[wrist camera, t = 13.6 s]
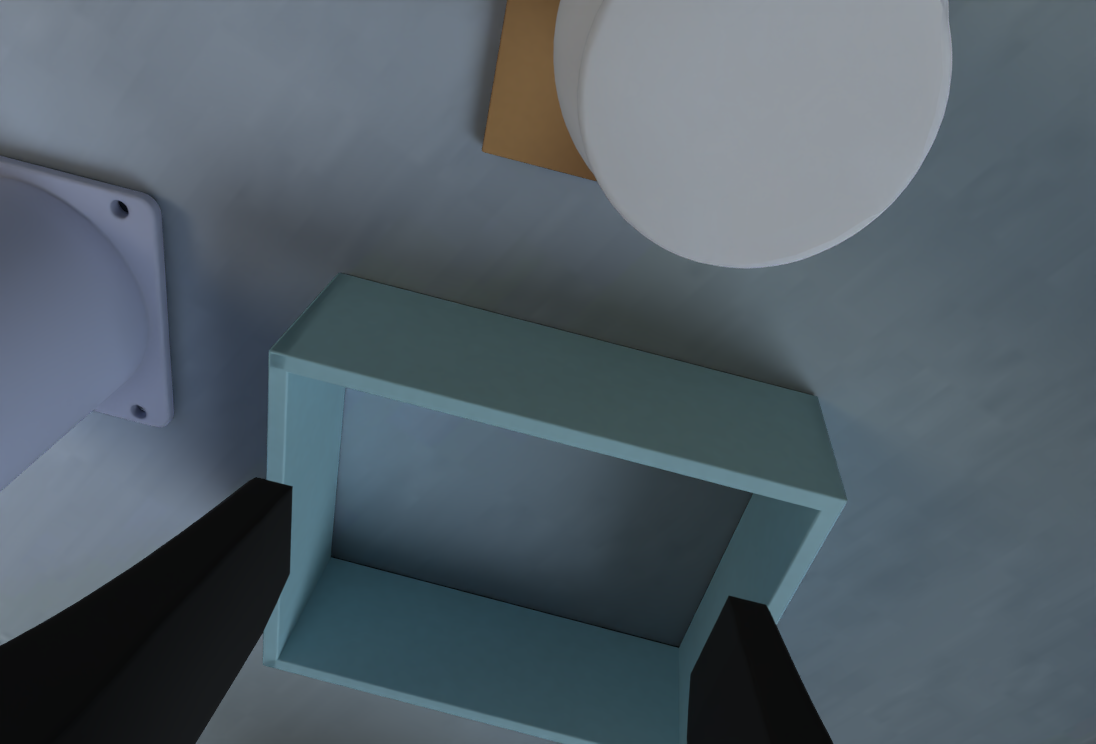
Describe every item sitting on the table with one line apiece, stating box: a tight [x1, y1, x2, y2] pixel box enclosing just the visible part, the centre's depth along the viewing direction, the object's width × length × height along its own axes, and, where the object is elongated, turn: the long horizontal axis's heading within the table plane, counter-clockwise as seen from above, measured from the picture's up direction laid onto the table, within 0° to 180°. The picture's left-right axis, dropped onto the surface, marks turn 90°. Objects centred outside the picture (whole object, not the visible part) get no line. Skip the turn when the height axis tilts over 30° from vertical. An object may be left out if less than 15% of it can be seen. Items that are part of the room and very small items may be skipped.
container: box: [263, 273, 847, 744], centre depth 23 cm, size 14×12×4 cm
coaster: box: [482, 0, 597, 181], centre depth 17 cm, size 9×9×1 cm
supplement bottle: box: [553, 0, 952, 268], centre depth 13 cm, size 5×5×10 cm
